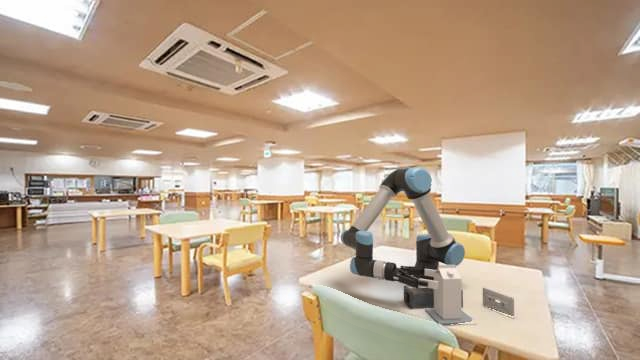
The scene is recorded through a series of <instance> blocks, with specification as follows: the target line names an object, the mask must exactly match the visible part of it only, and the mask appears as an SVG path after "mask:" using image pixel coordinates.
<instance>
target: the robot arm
mask: <svg viewBox="0 0 640 360" xmlns="http://www.w3.org/2000/svg"><path fill="white" fill-rule="evenodd" d="M432 181H433V179H432V176H431V174H430V173H429V171H427V170H426V169H425V168H423V167H417V166H414V167H408V168H405V167H404V168H397V169H395V170H393V171H392V172H390V173H389V175H387V176H386V177H385V178H384V179H383V181H382V182H381V184H380V185H379V187H378V188H379V189H378V191H377V192H376V193H375V195H374V196H373V197H372V199H370V201H369V202H368V204H367V205H366V206H365V208H364V209H363V210H362V212H361V213H360V215H358V217H357V218H356V220H355V221H354V222H353V224H352V225H351V226H350V227H349V228H348V229H346V230H344V231H343V232H341V234H340V242H341V243H342V244H343V245H345V246H346V247H348V248H351V249H353V250H355V256H354V257H352V258H351V260H350V264H349V270H350V272H351V273H352V274H353V275H357V276H360V277H366V278H373V279H377V280H378V281H381V280H385V281H389V282H398V283H401V284H404V285H406V286H408V287H410V288H432V289H438V281H434V272H435V271H436V270H437V269H438V265H440V263H441V264H443V265H456V267H458V266H460V264H461V263H462V262H463V261H464V258H465V254H466V250H465V247H464V245H463V244H462V243H460V242H457V241H456V239H455V237H454V235H453V234H452V233H449V232H448V230H447V228H446V225H445V224H444V221H443V220H442V217H441V215H440V213H439V211H438V209H437V207H436V205H435V202H434V200H433V199H432V196H431V190H432V185H433V184H432ZM402 192H403V193H405V195H406V198H407V199H408V200H409V201H412V202H413V205H414V207H415V208H416V211H417V213H418V215H419V217H420V219H421V222H422V224H423V226H424V227H425V231H426V232H427V233H421V234H418V235H417V236H416V241H415V246H416V247H415V251H416V253H415V256H416V257H415V258H416V260H415V264H414V266H411V265H409V266H407V265H400V267H397V264H396V262H390V261H385V260H377V259H374V256H373V254H374V253H373V251H374V250H373V249H374V239H373V238H374V237H373V233H372V232H371V231H369V229H370V228H371V226H372V225H373V224H374V222H375V221H376V220H377V218H378V217H379V216H380V214H382V212H383V210H384V209H385V208H386V206H387V205H388V204H389V203H390V201H391V199H393V198H396V197H397V195H398V194H400V193H402Z"/></svg>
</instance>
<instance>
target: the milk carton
mask: <svg viewBox="0 0 640 360" xmlns="http://www.w3.org/2000/svg"><path fill="white" fill-rule="evenodd" d="M434 281H438V289H434V308H433V309H434V311H435V312H436V313H437V314H439V315H440V316H441V317H442V318H443V319H461V310H462V307H461V290H462V276H461V275H460V273H459V271H458V268H457V266H456V265H446V264H439V265H438V269H437V270H436V271H435V272H434Z"/></svg>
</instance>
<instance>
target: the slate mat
mask: <svg viewBox="0 0 640 360" xmlns="http://www.w3.org/2000/svg"><path fill="white" fill-rule="evenodd" d="M424 311H425V313H426V314H427V315H429V317H430V318H431V319H432V320H434V322H435V323H437V322H438V323H440V324H442V325H444V326H452V325H451V324H458V323H465V322H471V321H472V319H473V317H471V316H469V315H468V314H467V313H465V312H464V311H463V310H462V309H461V319H443V318H442V317H441V316H440V315H439V314H437V313H436V312H435V311H434V308H424ZM438 323H437V324H438Z"/></svg>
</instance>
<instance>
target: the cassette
mask: <svg viewBox="0 0 640 360" xmlns="http://www.w3.org/2000/svg"><path fill="white" fill-rule="evenodd" d="M498 301H499V302H498ZM483 305H484V306H483ZM482 306H483V307H485V306H487V307H488V308H491V309H494V310H496V311H499V312H502V313H505V314H508V315H511V316H514V317H515V298H514V297H512V296H509V295H506V294H504V293H500V292H498V291H496V290H492V289H490V288H488V287H485V286H484V287H482ZM487 307H486V308H487ZM488 308H487V309H488ZM491 309H490V310H491Z"/></svg>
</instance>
